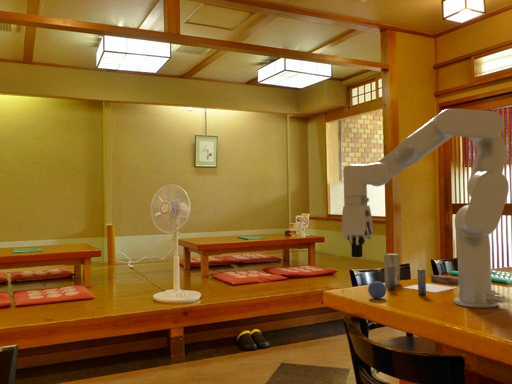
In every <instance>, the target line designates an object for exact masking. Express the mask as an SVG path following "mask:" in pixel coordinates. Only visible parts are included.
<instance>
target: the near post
mask: <svg viewBox="0 0 512 384" xmlns="http://www.w3.org/2000/svg"><path fill="white" fill-rule="evenodd" d="M426 274H427V273H426V269H424V268H418V269H417V284H418V290H417V294H418V295H417V296H419V297H425V296H427V292H426V282H427V279H426Z"/></svg>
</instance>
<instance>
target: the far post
mask: <svg viewBox="0 0 512 384" xmlns="http://www.w3.org/2000/svg"><path fill="white" fill-rule="evenodd" d="M387 267H388V285H387V291H389V290H391V291H390V292H395V291H396V286H395V266H387ZM394 290H395V291H394Z"/></svg>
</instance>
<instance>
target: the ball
mask: <svg viewBox="0 0 512 384" xmlns="http://www.w3.org/2000/svg"><path fill="white" fill-rule="evenodd" d="M367 291H368V294H369V296H370V297H371V298H373V299H375V298H376V299H377V300H379V299H382V298H383V297H384V296H385V295H386V294H387V287H386V285H385V283H383V282H382V281H378V280H375V281H372V282H370V283H369V285H368V288H367ZM376 299H375V300H376Z"/></svg>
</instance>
